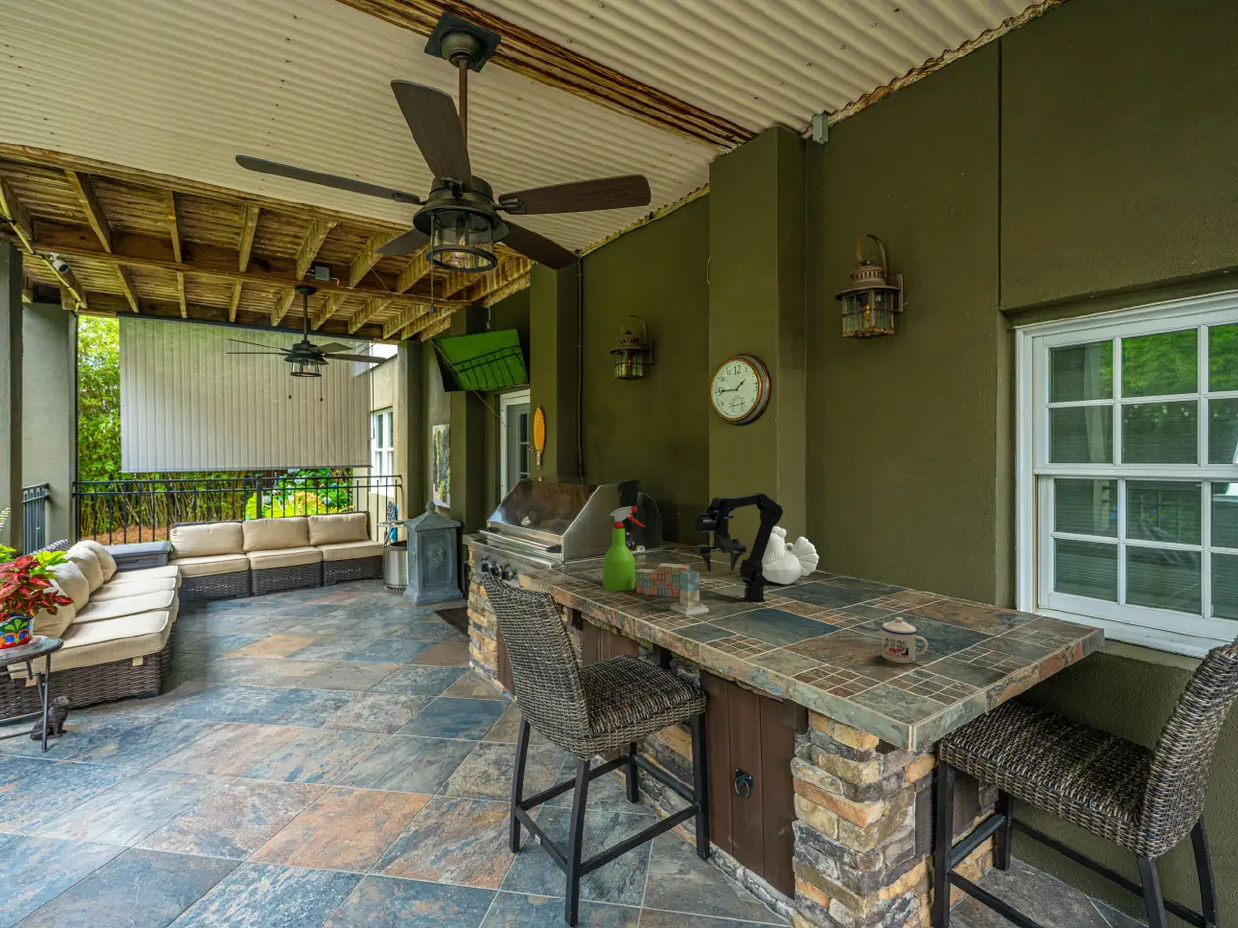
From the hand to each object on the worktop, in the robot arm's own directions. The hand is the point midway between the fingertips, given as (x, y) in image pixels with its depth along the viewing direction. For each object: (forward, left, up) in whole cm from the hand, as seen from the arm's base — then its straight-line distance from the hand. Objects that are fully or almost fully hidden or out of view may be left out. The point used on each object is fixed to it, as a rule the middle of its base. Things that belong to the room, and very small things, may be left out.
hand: (720, 571), depth 229 cm
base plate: (+14, +4, -13) cm, 20 cm away
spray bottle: (+29, -36, -13) cm, 48 cm away
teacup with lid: (-28, +66, -13) cm, 73 cm away
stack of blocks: (+16, -21, -13) cm, 30 cm away
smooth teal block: (+14, +4, -12) cm, 19 cm away
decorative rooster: (-42, -25, -13) cm, 51 cm away
